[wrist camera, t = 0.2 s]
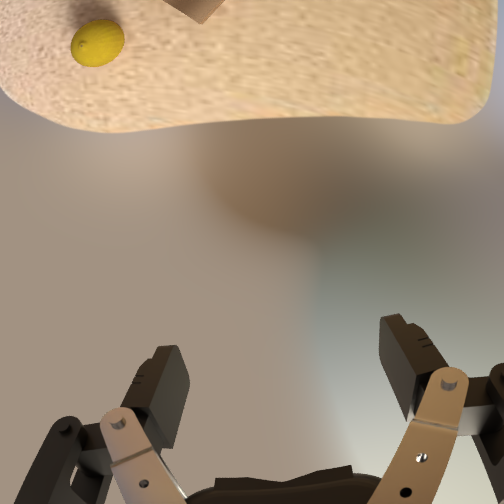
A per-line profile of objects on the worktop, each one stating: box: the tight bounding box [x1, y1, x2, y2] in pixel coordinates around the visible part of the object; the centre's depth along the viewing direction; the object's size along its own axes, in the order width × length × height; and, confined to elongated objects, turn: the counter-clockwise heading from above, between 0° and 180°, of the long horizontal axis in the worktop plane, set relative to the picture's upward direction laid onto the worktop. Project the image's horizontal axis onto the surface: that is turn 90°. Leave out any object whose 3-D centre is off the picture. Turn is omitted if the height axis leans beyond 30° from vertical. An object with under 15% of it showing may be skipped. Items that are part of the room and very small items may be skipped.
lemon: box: [71, 19, 125, 67], centre depth 25 cm, size 6×6×8 cm
